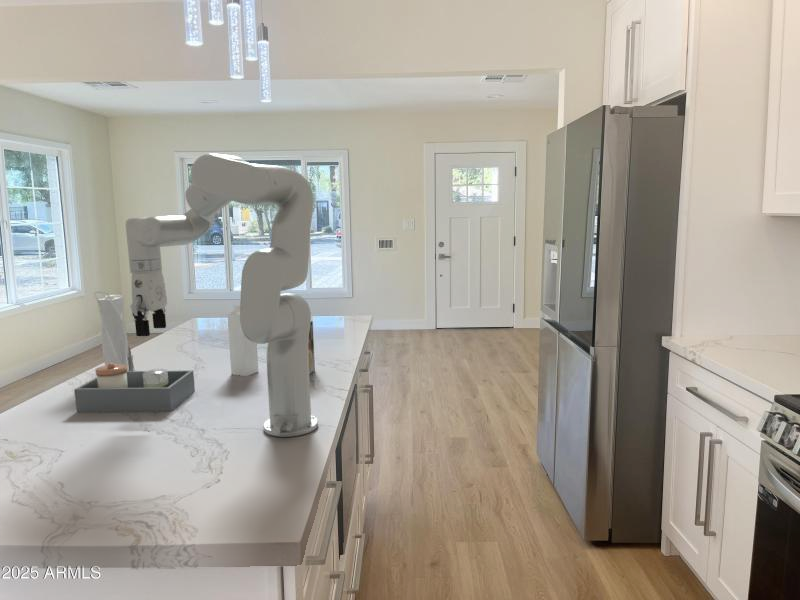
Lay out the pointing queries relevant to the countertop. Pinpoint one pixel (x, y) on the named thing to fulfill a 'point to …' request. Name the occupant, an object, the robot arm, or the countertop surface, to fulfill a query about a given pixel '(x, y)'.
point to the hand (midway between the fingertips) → (151, 331)
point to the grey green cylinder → (155, 378)
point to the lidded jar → (112, 376)
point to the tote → (135, 394)
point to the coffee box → (311, 349)
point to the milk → (241, 347)
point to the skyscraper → (114, 331)
